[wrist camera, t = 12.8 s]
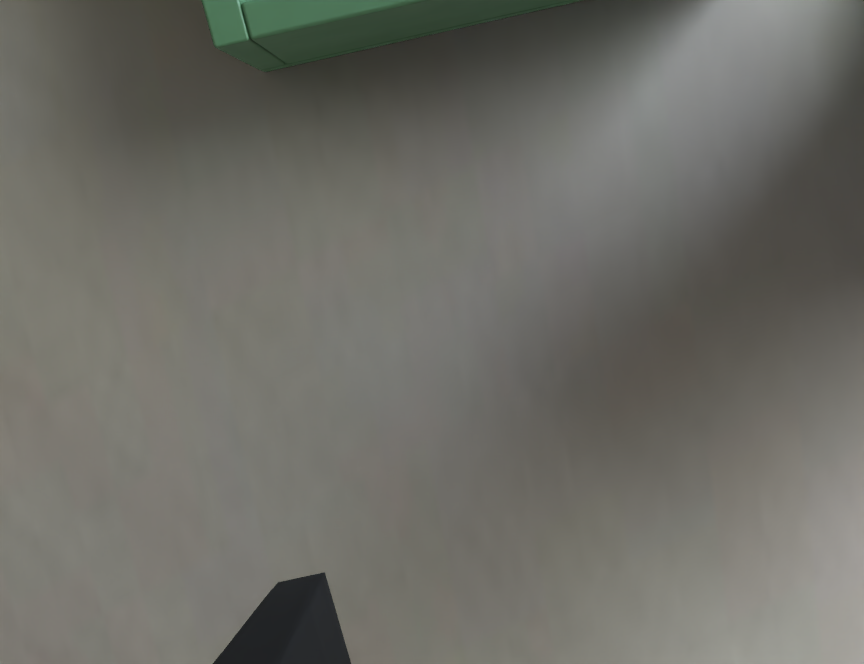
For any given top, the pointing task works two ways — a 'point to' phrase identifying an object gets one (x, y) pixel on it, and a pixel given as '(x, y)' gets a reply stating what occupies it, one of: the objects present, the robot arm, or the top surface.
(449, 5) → the bin
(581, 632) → the top surface
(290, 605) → the robot arm
